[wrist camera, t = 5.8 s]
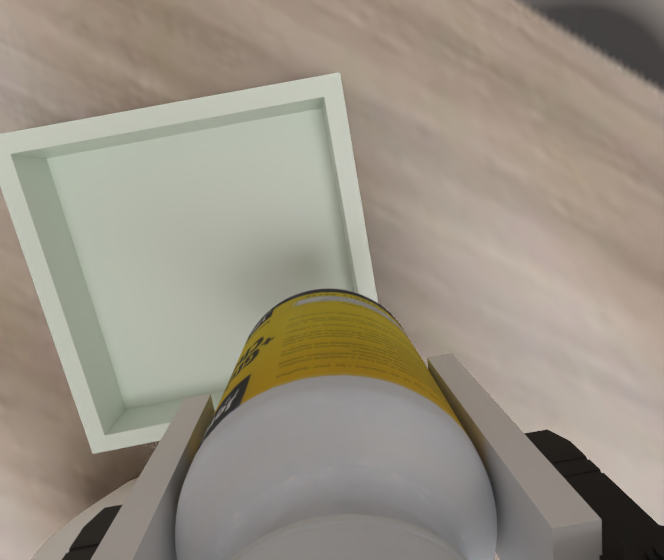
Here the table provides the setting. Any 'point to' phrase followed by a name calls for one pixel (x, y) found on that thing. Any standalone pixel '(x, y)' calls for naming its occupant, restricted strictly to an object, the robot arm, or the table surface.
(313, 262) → the tray
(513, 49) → the table surface
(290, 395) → the pill bottle
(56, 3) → the table surface
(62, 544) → the mug
